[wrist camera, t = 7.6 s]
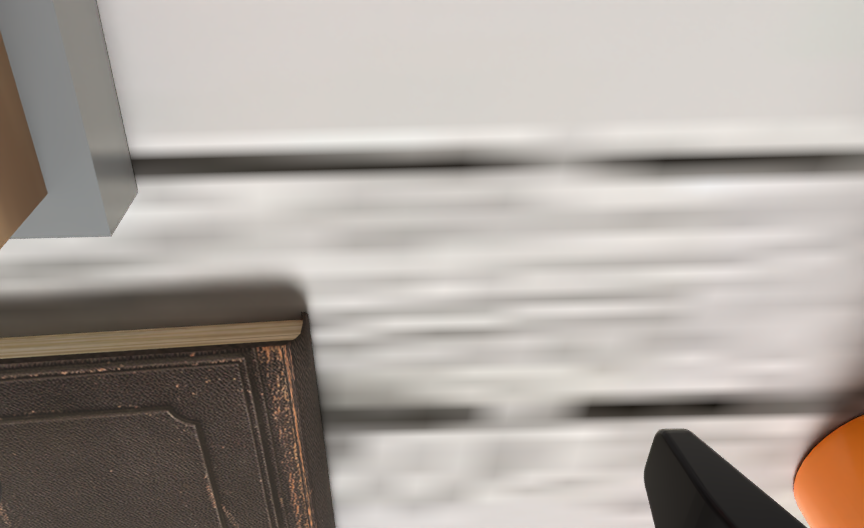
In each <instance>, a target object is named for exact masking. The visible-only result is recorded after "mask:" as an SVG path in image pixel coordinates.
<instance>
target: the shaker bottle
mask: <svg viewBox="0 0 864 528" xmlns="http://www.w3.org/2000/svg"><path fill="white" fill-rule="evenodd" d="M794 496H795V499H796V502H797V505H798V507H799V509H800V511H801V512H802V514H803V516H804V517H805V519H806V521H807V522H808V524H809V526H810V527H811V528H864V415H862V416H860V417H857V418H855V419H853V420H851V421H849V422H848V423H846V424H844V425H842V426H840V427H839V428H837V429H836V430H835V431H833V432H832V433H830V434H829V435H828V436H826V437H825V438H824V439H823V440H822V441H821V442H820V443H818V444H817V445H816V446H815V447H814V448H813V449H812V451H811V452H810V453H809V454H808V456H807V457H806V458H805V459H804V461H803V463H802V465H801V467H800V468H799V470H798V472H797V475H796V479H795V482H794Z"/></svg>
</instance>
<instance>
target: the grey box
mask: <svg viewBox="0 0 864 528" xmlns="http://www.w3.org/2000/svg"><path fill="white" fill-rule="evenodd" d="M0 31H1V35H2V38H3V42H4V45H5V48H6V52H7V55H8V59H9V62H10V66H11V69H12V72H13V76H14V79H15V83H16V86H17V90H18V93H19V96H20V100H21V103H22V107H23V110H24V114H25V117H26V120H27V124H28V127H29V131H30V134H31V137H32V141H33V144H34V148H35V151H36V155H37V158H38V161H39V165H40V168H41V172H42V175H43V179H44V182H45V185H46V189H47V192H48V194H47V195H46V196H45V198H44V199H43V200H42V201H41V202H40V203H39V205H38V206H37V207H36V208H35V209H34V210H33V212H32V213H31V214H30V215H29V216H28V217H27V219H26V220H25V221H24V222H23V223H22V224H21V226H20V227H19V228H18V229H17V230H16V231H15V233H14V234H13V235H12V236H11V237H10V238H9V239H25V238H67V237H109V236H112V234H113V233H114V231H115V229H116V228H117V226H118V225H119V223H120V221H121V220H122V218H123V216H124V215H125V213H126V211H127V210H128V208H129V206H130V205H131V203H132V202H133V200H134V198H135V197H136V195H137V193H138V191H137V187H136V182H135V177H134V173H133V168H132V164H131V159H130V155H129V150H128V145H127V141H126V136H125V132H124V127H123V122H122V118H121V113H120V109H119V104H118V99H117V95H116V90H115V86H114V81H113V76H112V72H111V67H110V63H109V58H108V54H107V49H106V44H105V40H104V35H103V31H102V26H101V21H100V17H99V12H98V8H97V3H96V0H0Z"/></svg>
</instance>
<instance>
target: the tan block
mask: <svg viewBox="0 0 864 528" xmlns="http://www.w3.org/2000/svg"><path fill="white" fill-rule="evenodd" d="M47 194H48V192H47V189H46V185H45V182H44V179H43V175H42V172H41V168H40V165H39V161H38V158H37V155H36V151H35V148H34V144H33V141H32V137H31V134H30V131H29V127H28V124H27V120H26V117H25V114H24V110H23V107H22V103H21V100H20V96H19V93H18V90H17V86H16V83H15V79H14V76H13V72H12V69H11V66H10V62H9V59H8V55H7V52H6V48H5V45H4V42H3V38H2V35H1V31H0V249H1V248H2V247H3V245H4V244H5V243H6V242H7V241H8V240H9V238H10V237H11V236H12V235H13V234H14V233H15V231H16V230H17V229H18V228H19V227H20V226H21V224H22V223H23V222H24V221H25V220H26V219H27V217H28V216H29V215H30V214H31V213H32V212H33V210H34V209H35V208H36V207H37V206H38V205H39V203H40V202H41V201H42V200H43V199H44V198H45V196H46V195H47Z"/></svg>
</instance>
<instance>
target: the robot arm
mask: <svg viewBox="0 0 864 528" xmlns="http://www.w3.org/2000/svg"><path fill="white" fill-rule="evenodd" d="M644 483H645V488H646V492H647V496H648V500H649V504H650V508H651V513H652V517H653V521H654V525H655V528H807V527H806V526H804V525H803V524H802V523H801V522H800V521H798V520H797V519H796V518H795V517H794V516H792V515H791V514H790V513H789V512H788V511H786V510H785V509H784V508H783V507H782V506H780V505H779V504H778V503H777V502H776V501H774V500H773V499H772V498H771V497H769V496H768V495H767V494H766V493H765V492H763V491H762V490H761V489H760V488H759V487H757V486H756V485H755V484H754V483H753V482H751V481H750V480H749V479H748V478H747V477H745V476H744V475H743V474H742V473H741V472H739V471H738V470H737V469H736V468H735V467H733V466H732V465H731V464H730V463H728V462H727V461H726V460H725V459H724V458H722V457H721V456H720V455H719V454H718V453H716V452H715V451H714V450H713V449H712V448H710V447H709V446H708V445H707V444H706V443H704V442H703V441H702V440H701V439H700V438H698V437H697V436H696V435H695V434H694V433H692V432H691V431H689V430H687V429H661V430H659V431H658V432H657V433H656V434H655V437H654V440H653V443H652V446H651V449H650V452H649V456H648V459H647V462H646V465H645V469H644ZM1 498H2V485H1V481H0V503H1Z"/></svg>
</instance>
